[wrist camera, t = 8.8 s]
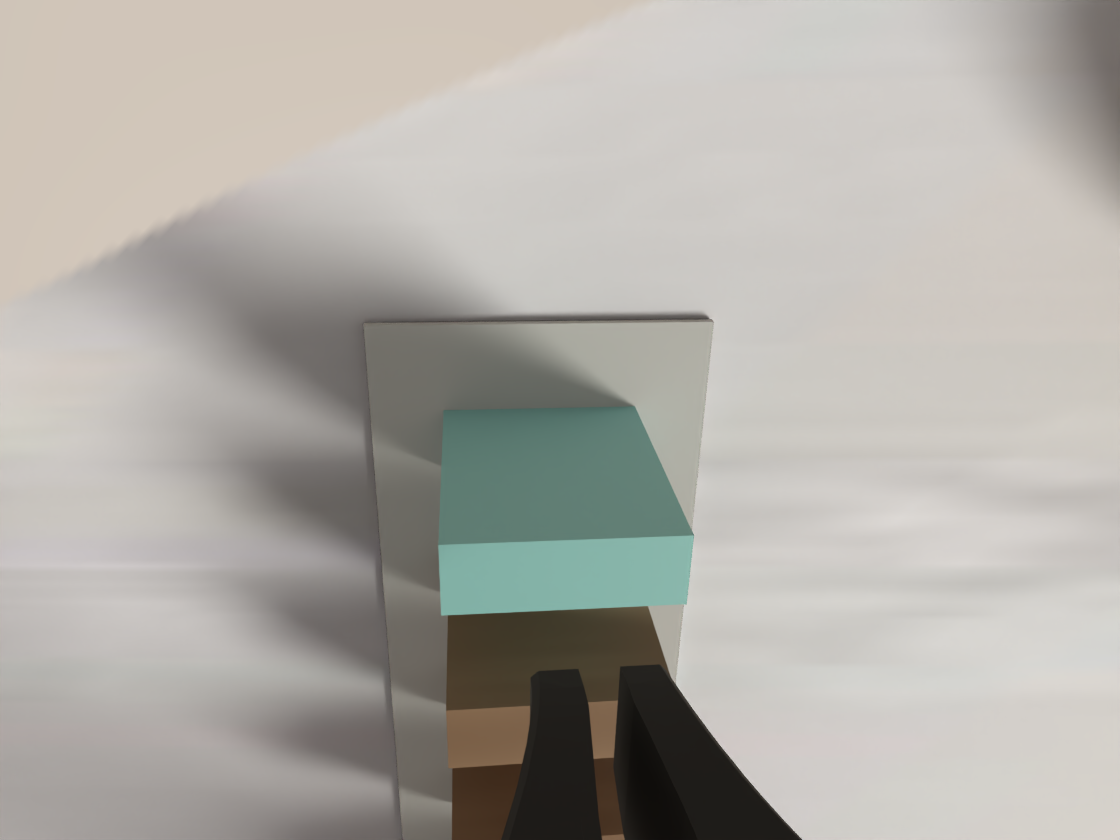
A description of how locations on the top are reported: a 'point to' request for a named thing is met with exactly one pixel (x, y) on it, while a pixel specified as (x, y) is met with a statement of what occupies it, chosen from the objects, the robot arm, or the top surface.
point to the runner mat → (415, 479)
